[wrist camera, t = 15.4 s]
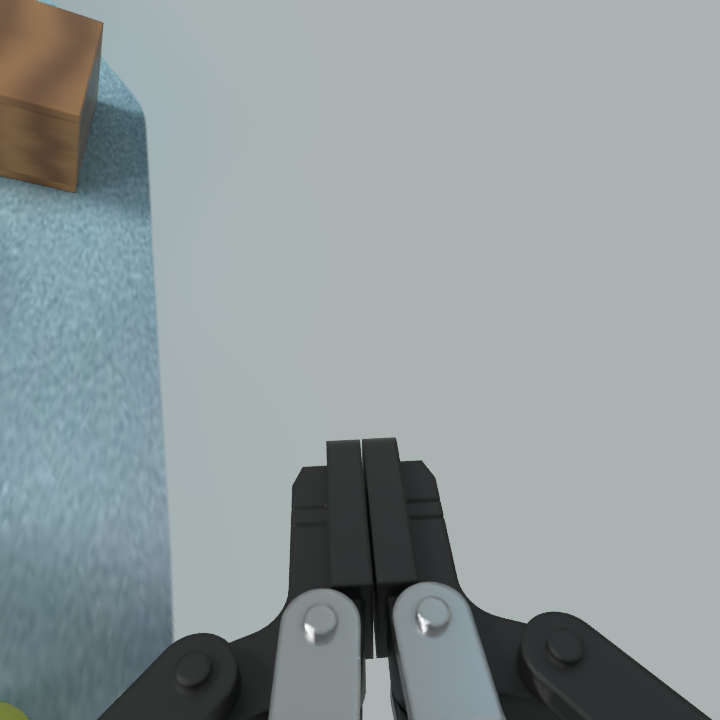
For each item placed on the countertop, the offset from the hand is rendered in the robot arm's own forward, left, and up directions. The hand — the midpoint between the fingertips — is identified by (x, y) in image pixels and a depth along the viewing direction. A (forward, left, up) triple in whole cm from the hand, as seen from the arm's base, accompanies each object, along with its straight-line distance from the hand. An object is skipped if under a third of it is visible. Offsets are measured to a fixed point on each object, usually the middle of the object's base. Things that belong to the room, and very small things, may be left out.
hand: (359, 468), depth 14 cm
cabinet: (-18, +45, -34) cm, 60 cm away
